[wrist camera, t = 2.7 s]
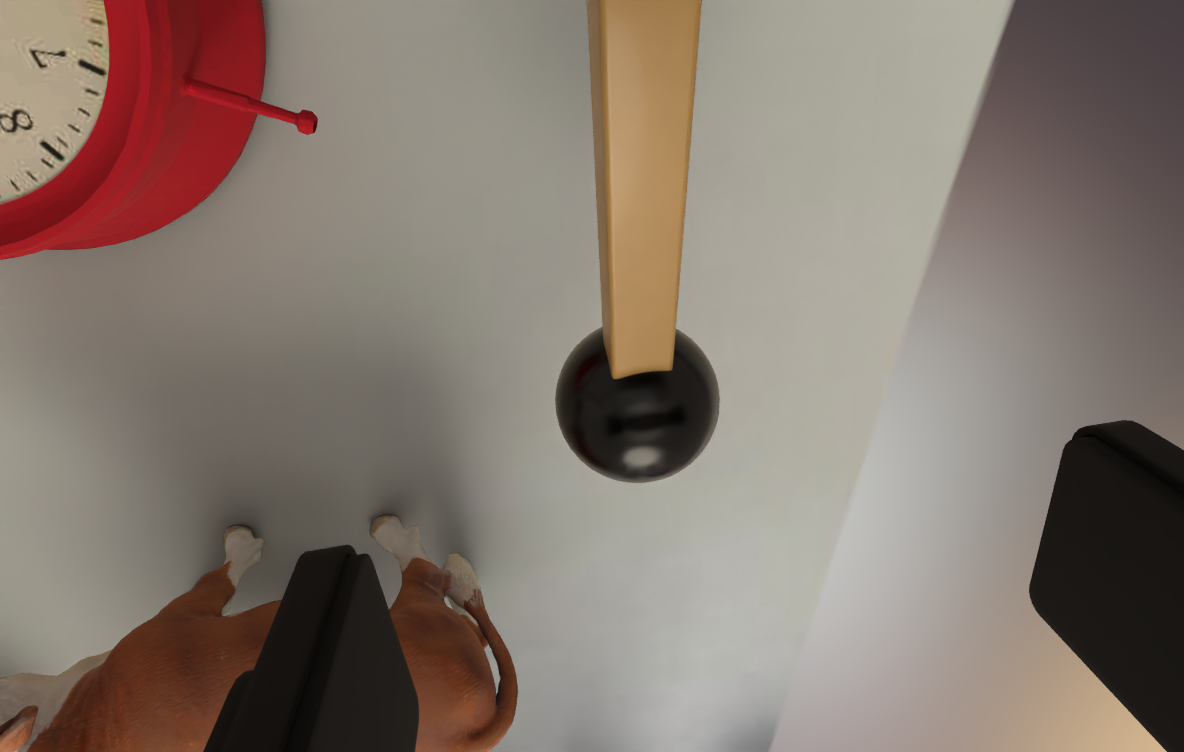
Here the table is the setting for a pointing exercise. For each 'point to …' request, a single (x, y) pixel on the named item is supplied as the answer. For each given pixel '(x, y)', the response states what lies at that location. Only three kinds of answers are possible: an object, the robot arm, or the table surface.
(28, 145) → the alarm clock
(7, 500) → the table surface
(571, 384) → the lever
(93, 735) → the bull figurine
